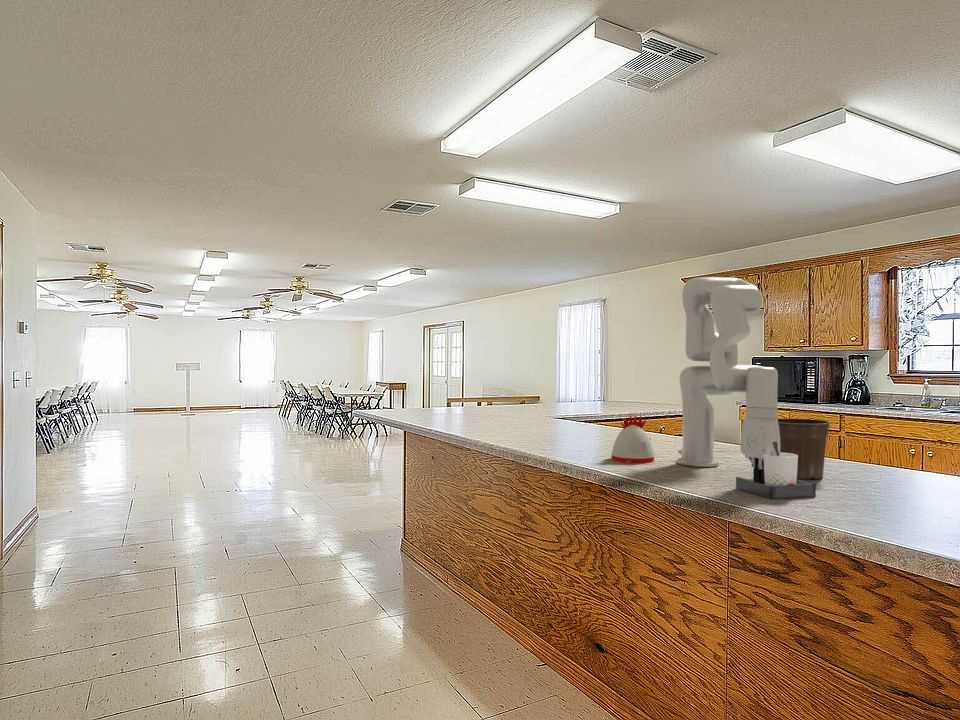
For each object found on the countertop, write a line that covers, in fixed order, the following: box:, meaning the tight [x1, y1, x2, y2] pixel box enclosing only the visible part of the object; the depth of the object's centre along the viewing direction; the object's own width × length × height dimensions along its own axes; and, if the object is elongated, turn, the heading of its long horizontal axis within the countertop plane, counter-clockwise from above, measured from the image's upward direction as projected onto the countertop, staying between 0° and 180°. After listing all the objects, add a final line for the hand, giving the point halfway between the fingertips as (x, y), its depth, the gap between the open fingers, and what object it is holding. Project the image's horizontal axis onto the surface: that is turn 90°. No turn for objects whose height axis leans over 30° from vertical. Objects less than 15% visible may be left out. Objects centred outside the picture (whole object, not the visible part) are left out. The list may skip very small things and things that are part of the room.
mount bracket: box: [735, 476, 817, 500], centre depth 158 cm, size 13×13×3 cm
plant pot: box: [777, 417, 832, 480], centre depth 180 cm, size 16×16×16 cm
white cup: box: [763, 452, 798, 486], centre depth 156 cm, size 8×8×10 cm
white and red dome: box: [611, 415, 655, 464], centre depth 208 cm, size 14×14×15 cm
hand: (760, 483), depth 163 cm, fingers closed
